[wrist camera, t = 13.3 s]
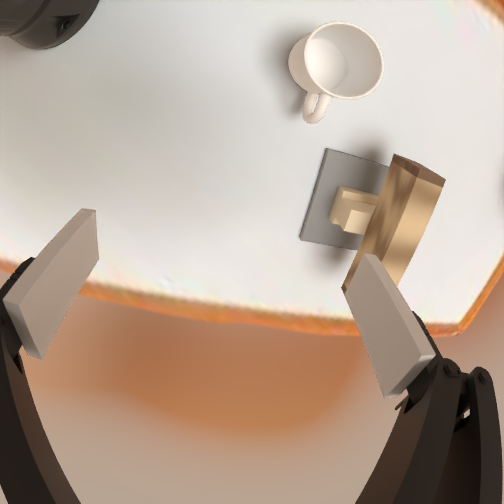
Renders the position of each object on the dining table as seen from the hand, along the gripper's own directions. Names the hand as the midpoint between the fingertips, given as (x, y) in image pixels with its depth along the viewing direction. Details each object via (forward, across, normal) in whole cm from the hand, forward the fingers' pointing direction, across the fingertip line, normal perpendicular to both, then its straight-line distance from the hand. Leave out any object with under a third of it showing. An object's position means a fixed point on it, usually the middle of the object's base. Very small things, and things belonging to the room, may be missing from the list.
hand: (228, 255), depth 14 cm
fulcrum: (+27, +20, -5) cm, 34 cm away
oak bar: (+20, +20, -5) cm, 29 cm away
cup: (+27, +8, +11) cm, 30 cm away
